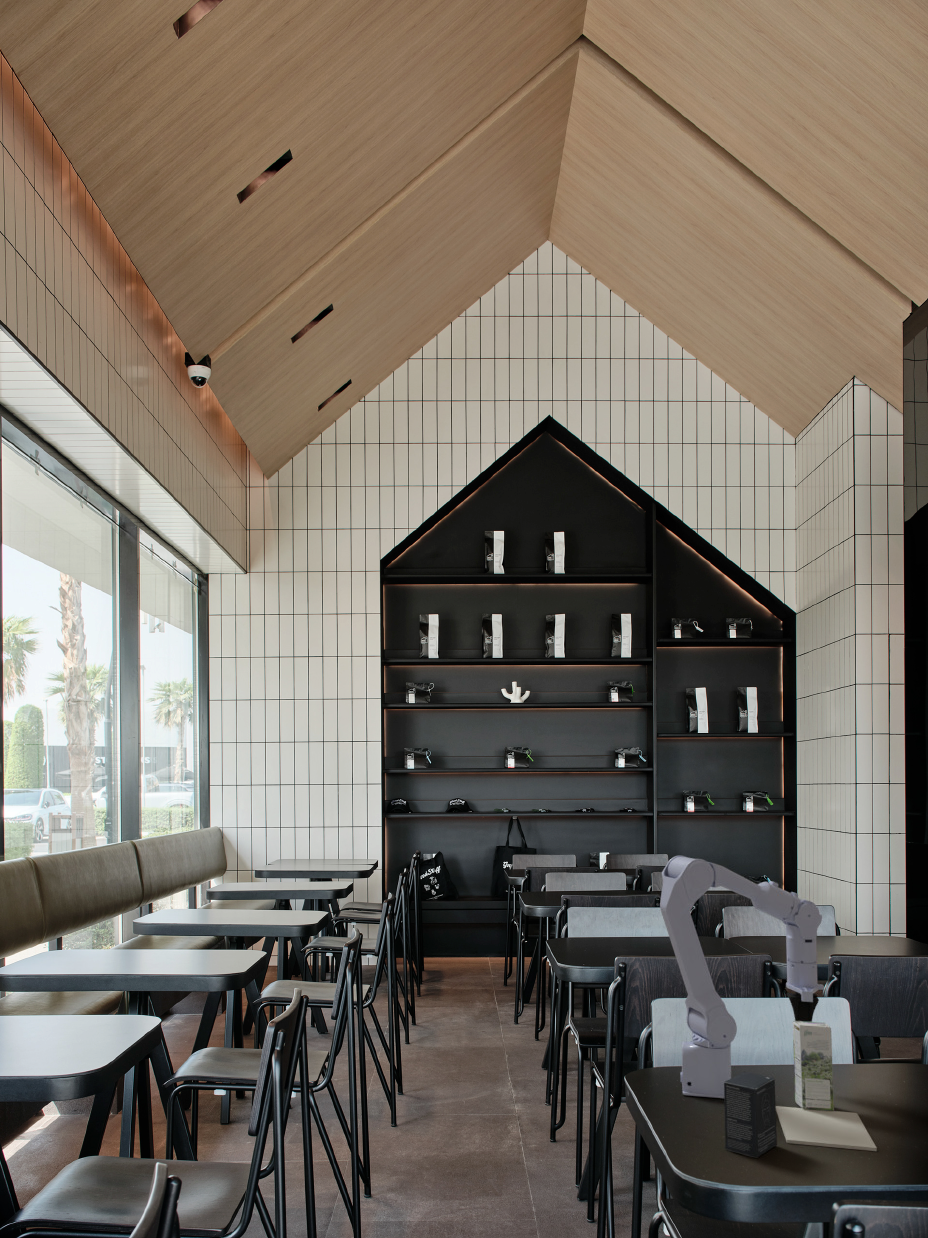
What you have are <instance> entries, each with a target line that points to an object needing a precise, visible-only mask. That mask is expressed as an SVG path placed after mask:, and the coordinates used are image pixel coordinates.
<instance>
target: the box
mask: <svg viewBox="0 0 928 1238" xmlns="http://www.w3.org/2000/svg"><path fill="white" fill-rule="evenodd" d="M775 1082H776V1079H775V1077H772V1076H768V1075H761V1074H757V1073H753V1072H748V1071H744V1072H741V1073H740V1074H739V1073H738V1074H737V1075H736V1076H733V1077H731V1079H729V1080H727V1081H725V1082H724V1098H723V1099H724V1137H725V1138H724V1140H725V1141H724V1143H725V1149H726V1151H728V1152H733V1153H737V1154H741V1155H744V1156H747V1157H751V1158H755V1159H757V1158H759V1157H760V1156H762V1155H764V1154H765V1153H767V1152H769V1150H771V1149H772V1148H774V1147H776V1146H777V1145H778V1137H777V1135H778V1134H777V1132H778V1131H777V1112H776V1106H777V1105H776V1101H777V1100H776V1083H775Z"/></svg>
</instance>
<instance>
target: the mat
mask: <svg viewBox="0 0 928 1238" xmlns="http://www.w3.org/2000/svg"><path fill="white" fill-rule="evenodd" d="M776 1116H777V1117H778V1120H779V1124H780V1126H781V1128H782V1133H783V1135H784V1138H785V1139H784V1140H785V1141H786V1144H795V1145H807V1146H817V1147H827V1148H835V1149H836V1148H837V1149H838V1148H840V1149H847V1150H848V1149H849V1150H859V1151H860V1150H861V1151H871V1152H878V1147H877V1146H876V1144H875V1142H874V1141H873V1139H872V1137H871V1135H870V1134H869V1132H868V1130H867V1129H866V1127H865V1125H864V1122H862V1120H861V1118H860V1116H859V1114H858V1113H857V1112H848V1111H839V1110H838V1111H837V1110H833V1111H831V1110H815V1109H803V1108H802V1107H793V1106H792V1107H791V1106H781V1105H776Z"/></svg>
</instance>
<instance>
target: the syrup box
mask: <svg viewBox="0 0 928 1238" xmlns="http://www.w3.org/2000/svg"><path fill="white" fill-rule="evenodd" d="M792 1036H793V1037H792V1040H793V1041H792V1042H793V1045H792V1046H793V1073H794V1074H793V1075H794V1076H793V1077H794V1102H795V1103H796V1104H797V1105H798V1106H799V1108H803V1109H815V1110H828V1111H835V1107H834V1106H835V1104H834V1101H835V1099H834V1076H833V1075H834V1074H833V1073H834V1072H833V1046H832V1045H833V1043H832V1041H833V1039H832V1028H831V1026H829V1024H828V1023H826V1022H820V1021H819V1022H818V1021H812V1022H804V1021H795V1020H793V1021H792Z"/></svg>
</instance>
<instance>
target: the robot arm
mask: <svg viewBox="0 0 928 1238" xmlns="http://www.w3.org/2000/svg"><path fill="white" fill-rule="evenodd" d="M661 877H662V881H663V882H662V886H661V887H662V888H661V893H660V894H661V895H660V903H659V907H660V912H661V914H662V915H661V916H662V918H663V922H664V924H665V927H666V931H667V934H668V937H669V940H670V942H671V946H672V949H673V952H674V955H675V958H676V962H677V965H678V967H679V971H680V974H681V977H682V979H683V983H684V986H685V987H684V988H685V989H686V992H687V997H686V998H685V1000H684V1003H685V1006H686V1017H685V1018H686V1019H685V1020H686V1024H687V1027H688V1029H689V1030H690V1031H691V1032H692V1035H691V1036H692V1037H691V1041H688V1040H687V1041H683V1040H682V1042H681V1071H680V1073H679V1074H680V1083H681V1084H682V1085H681V1086H682V1087H681V1088H682V1090H681V1091H682V1095H684V1096H691V1097H692V1096H693V1097H705V1098H716V1099H724V1082H725V1081H727V1080H729V1079H731V1078H732V1057H731V1056H732V1052H731V1049H732V1047H731V1046H732V1044H731V1043H732V1042H733V1041H734V1040H735V1039H736V1038H735V1037H736V1036H737V1032H738V1031H737V1030H738V1028H737V1027H738V1025H737V1022H736V1020H735V1018H734V1017H733V1015H731V1014H730V1013H729V1011H728V1009H727V1008H726V1004H725V1002H724V1001H723V999H722V998H721V996H720V995H719V994H718V992H717V990H716V988H715V985H714V982H713V979H712V976H711V974H710V969H709V966H708V964H707V961H706V958H705V954H704V952H703V948H702V945H701V942H700V940H699V936H698V933H697V929H696V927H695V924H694V921H693V917H692V915H691V910H692V909H693V906H694V905H695V903H696V902H697V901H698V900H699V899H700V898H701V897H702V896H703V895H704V894H705V893H706V892H708V891H709V889H711V888H714V889H715V888H718V887H722V888H725V889H727V890H729V891H731V892H734V893H735V894H738V895H741V896H743V897H746V898H747V899H750V901H751V903H752V906H753V908H754V909H756V910H758V911H760V912H761V913H764V914H767V915H768V916H771V917H773V918H775V919H777V920H779V921H781V922H782V923H783V924H784V926H785V937H786V938H785V940H786V942H785V945H786V981H787V982H786V983H785V987H786V988H787V989H789V990H792V992H787V993H786V996H787V998H788V999H789V1001H790V1005H791V1008H792V1011H793V1016H794V1017H793V1018H794V1021H804V1022H813V1018H814V1013H815V1010H816V1008H817V1006H818V1003H819V1001H820V1000H819V998H818V995H817V994H816V992H818V991H819V990H820V991H821V990H822V991H824V990H825V986H824V984H820V983H818V958H817V957H818V954H817V952H818V950H817V949H818V948H817V937H818V928H819V927H820V926H821V923H822V921H823V914H820V910H819V908H818V906H817V904H815V903H814V902H812V901H810V900H807V899H802V898H799V894H798V893H796V892H793V891H791V892H789V891H787V890H785V889H782V888H781V887H779V883H778V882H775V881H771V880H770V881H769V882H768V881H763V882H759V883H755V882H753V881H751V880H750V879H747V878H746V877H744V876H742V875H740V874H738V873H737V872H734V871H732V870H730V869H729V868H727V867H725V866H723V865H720V864H717V863H714V862H709V861H707V860H705V859H701V858H691V857H687V856H685V855H675V856H673V857H672V858H671V859H669V860H668V861H667V863H666V865H665V867H664V868H663V870H662V872H661ZM793 992H794V993H793Z"/></svg>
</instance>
